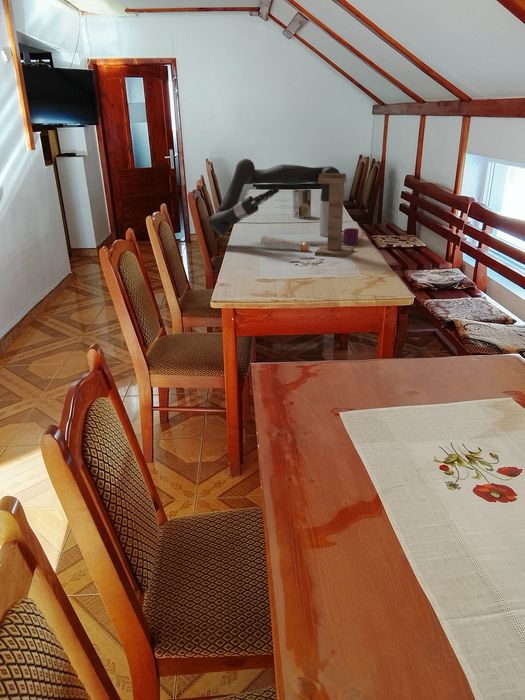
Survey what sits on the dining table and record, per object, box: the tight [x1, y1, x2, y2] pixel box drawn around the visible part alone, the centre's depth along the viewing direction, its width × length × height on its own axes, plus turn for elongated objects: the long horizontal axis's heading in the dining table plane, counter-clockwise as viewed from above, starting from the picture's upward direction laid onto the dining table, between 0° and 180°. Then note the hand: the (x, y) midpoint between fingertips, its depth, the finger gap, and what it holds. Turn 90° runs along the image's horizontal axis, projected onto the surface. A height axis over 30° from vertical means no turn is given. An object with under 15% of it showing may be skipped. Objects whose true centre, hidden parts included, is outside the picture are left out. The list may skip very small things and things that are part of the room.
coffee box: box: [292, 188, 312, 219], centre depth 324 cm, size 9×6×16 cm
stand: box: [314, 173, 354, 258], centre depth 232 cm, size 14×14×34 cm
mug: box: [342, 227, 359, 246], centre depth 254 cm, size 7×10×7 cm
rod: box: [260, 235, 310, 252], centre depth 246 cm, size 4×22×4 cm, turn 68°
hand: (275, 190), depth 238 cm, fingers open, 6 cm apart
